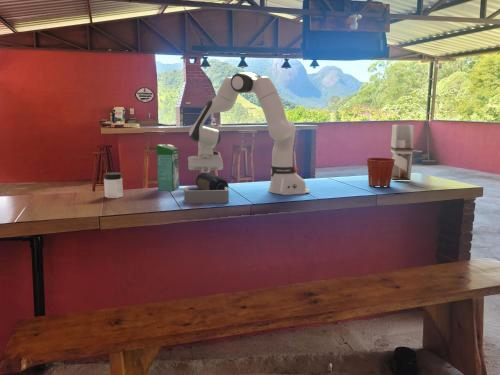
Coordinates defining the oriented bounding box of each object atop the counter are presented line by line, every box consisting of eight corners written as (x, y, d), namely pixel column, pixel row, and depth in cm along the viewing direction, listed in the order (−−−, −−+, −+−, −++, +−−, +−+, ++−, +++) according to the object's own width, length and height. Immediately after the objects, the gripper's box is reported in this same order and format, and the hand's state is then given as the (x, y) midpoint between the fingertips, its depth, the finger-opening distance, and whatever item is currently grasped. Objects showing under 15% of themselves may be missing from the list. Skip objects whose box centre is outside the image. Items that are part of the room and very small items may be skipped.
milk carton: (173, 190, 234) (172, 145, 229) (157, 190, 236) (156, 144, 231) (179, 187, 243) (178, 143, 238) (164, 187, 244) (162, 143, 240)
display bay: (227, 198, 215) (227, 186, 214) (228, 202, 206) (228, 190, 205) (185, 199, 213) (185, 187, 212) (184, 203, 204) (184, 191, 203)
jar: (113, 194, 223) (112, 171, 221) (126, 195, 220) (125, 172, 218) (101, 197, 215) (100, 174, 213) (114, 199, 212) (113, 175, 210)
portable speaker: (193, 189, 238) (193, 172, 236) (209, 188, 243) (209, 170, 241) (213, 198, 216) (213, 178, 215) (230, 196, 221) (230, 177, 220)
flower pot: (359, 185, 254) (360, 158, 251) (374, 182, 265) (376, 156, 262) (383, 189, 242) (385, 161, 239) (399, 186, 252) (401, 159, 249)
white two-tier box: (388, 178, 279) (392, 124, 272) (405, 179, 278) (409, 125, 271) (392, 181, 268) (396, 125, 261) (410, 182, 267) (414, 125, 260)
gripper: (187, 152, 249) (187, 171, 241) (222, 152, 251) (223, 171, 243) (188, 159, 254) (187, 178, 246) (222, 159, 256) (223, 178, 248)
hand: (205, 174), depth 245 cm, fingers closed
